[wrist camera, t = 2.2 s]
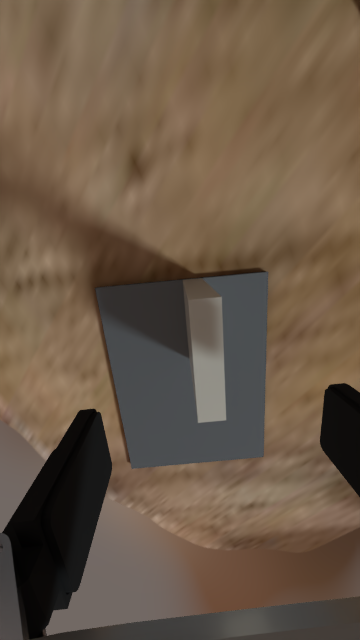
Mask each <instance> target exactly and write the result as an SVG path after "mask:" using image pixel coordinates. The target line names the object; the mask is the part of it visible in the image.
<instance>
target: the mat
mask: <svg viewBox="0 0 360 640" xmlns="http://www.w3.org/2000/svg"><path fill="white" fill-rule="evenodd" d="M191 279H199V278H191ZM202 279H203V280H204V281H205V282H206V283H208V284H209V285H210V286H211V287H212V288H213V289H214V290H215V291H216V292H217V293H218V294H219V295H220V296H221V297H222V317H223V345H224V373H225V400H226V420H224V421H213V422H202V423H198V419H197V411H196V404H195V397H194V389H193V382H192V374H191V367H190V360H189V349H188V337H187V326H186V314H185V303H184V291H183V280H189V279H181V280H170V281H159V282H149V283H138V284H128V285H117V286H106V287H97V288H95V290H96V295H97V300H98V305H99V310H100V315H101V320H102V324H103V329H104V334H105V339H106V344H107V349H108V354H109V359H110V364H111V369H112V374H113V379H114V383H115V388H116V393H117V398H118V403H119V408H120V413H121V418H122V423H123V428H124V433H125V438H126V442H127V447H128V452H129V457H130V462H131V467H132V469H133V468H145V467H156V466H167V465H178V464H189V463H200V462H211V461H222V460H234V459H245V458H256V457H263V455H264V415H265V376H266V336H267V296H268V272H266V271H265V272H255V273H244V274H234V275H223V276H212V277H202Z"/></svg>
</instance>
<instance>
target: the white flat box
mask: <svg viewBox="0 0 360 640" xmlns="http://www.w3.org/2000/svg"><path fill="white" fill-rule="evenodd" d="M183 291H184V303H185V314H186V326H187V337H188V349H189V360H190V367H191V374H192V382H193V389H194V397H195V404H196V411H197V419H198V423H202V422H213V421H224V420H226V400H225V373H224V345H223V317H222V297H221V296H220V295H219V294H218V293H217V292H216V291H215V290H214V289H213V288H212V287H211V286H210V285H209V284H208V283H206V282H205V281H204V280H203V279H202V278H199V279H189V280H183Z"/></svg>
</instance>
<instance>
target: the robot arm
mask: <svg viewBox="0 0 360 640" xmlns="http://www.w3.org/2000/svg"><path fill="white" fill-rule="evenodd" d="M320 444H321V447H322V449H323V451H324V452H325V454H326V455H327V456H328V457H329V459H330V460H331V461H332V462H333V464H334V465H335V466H336V468H337V469H338V470H339V471H340V473H341V474H342V475H343V476H344V478H345V479H346V480H347V482H348V483H349V484H350V485H351V487H352V488H353V489H354V490H355V492H356V493H357V494H358V495H359V497H360V393H359V392H358V391H357V390H355V389H354V388H352V387H351V386H350V385H348V384H345V383H342V384H332V385H329V387H328V389H326V390H325V395H324V405H323V415H322V425H321V436H320ZM111 472H112V462H111V457H110V453H109V448H108V444H107V439H106V435H105V430H104V426H103V421H102V417H101V413H100V412H96V410H95V409H87V410H80V411H79V412H78V414H77V415H76V417H75V419H74V420H73V422H72V423H71V425H70V427H69V428H68V430H67V432H66V433H65V435H64V437H63V438H62V440H61V442H60V443H59V445H58V447H57V448H56V449H55V450H54V451H53V452H52V453H51V455H50V456H49V458H48V459H47V461H46V463H45V464H44V466H43V467H42V469H41V471H40V473H39V474H38V476H37V477H36V479H35V480H34V482H33V484H32V486H31V487H30V489H29V490H28V492H27V493H26V495H25V497H24V498H23V500H22V502H21V503H20V505H19V506H18V508H17V510H16V511H15V513H14V514H13V516H12V518H11V519H10V521H9V523H8V524H7V526H6V527H5V529H4V531H3V532H2V533H0V640H360V597H350V598H342V599H333V600H324V601H314V602H306V603H297V604H288V605H280V606H271V607H261V608H252V609H245V610H244V609H243V610H235V611H226V612H219V613H209V614H201V615H194V616H184V617H176V618H167V619H159V620H151V621H143V622H134V623H126V624H120V625H113V626H105V627H99V628H92V629H85V630H78V631H71V632H64V633H58V634H54V635H49V636H47V634H46V629H45V628H46V626H47V625H48V624H49V621H50V618H51V615H52V612H53V610H60V609H67V608H68V606H69V602H70V599H71V596H72V592H76V591H77V590H78V588H79V586H80V583H81V579H82V576H83V572H84V568H85V565H86V561H87V558H88V554H89V550H90V547H91V543H92V540H93V536H94V533H95V529H96V525H97V522H98V519H99V515H100V511H101V508H102V504H103V500H104V497H105V494H106V490H107V487H108V483H109V479H110V476H111Z"/></svg>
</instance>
